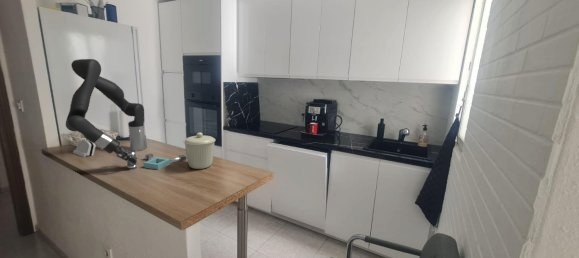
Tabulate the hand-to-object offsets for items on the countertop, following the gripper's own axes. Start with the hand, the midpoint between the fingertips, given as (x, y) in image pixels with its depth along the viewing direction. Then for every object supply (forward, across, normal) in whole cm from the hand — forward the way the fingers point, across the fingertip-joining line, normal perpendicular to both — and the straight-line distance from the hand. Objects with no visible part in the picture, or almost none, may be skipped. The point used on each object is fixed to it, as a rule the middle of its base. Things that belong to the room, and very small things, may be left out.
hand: (135, 160), depth 138 cm
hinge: (-17, +42, +24) cm, 51 cm away
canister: (+27, -13, -21) cm, 36 cm away
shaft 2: (+18, +1, -12) cm, 22 cm away
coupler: (+2, 0, +4) cm, 5 cm away
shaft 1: (+9, +9, -3) cm, 13 cm away
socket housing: (+11, -2, -5) cm, 12 cm away
